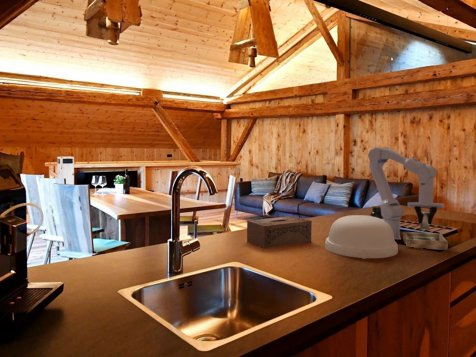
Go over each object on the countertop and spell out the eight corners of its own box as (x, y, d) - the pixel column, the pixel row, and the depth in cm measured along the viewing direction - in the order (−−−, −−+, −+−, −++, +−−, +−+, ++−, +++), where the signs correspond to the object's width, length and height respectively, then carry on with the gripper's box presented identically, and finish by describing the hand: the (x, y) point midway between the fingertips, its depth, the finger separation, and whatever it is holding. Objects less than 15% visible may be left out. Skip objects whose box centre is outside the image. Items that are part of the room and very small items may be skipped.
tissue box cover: (292, 236, 200) (292, 215, 199) (311, 242, 188) (311, 220, 187) (247, 242, 188) (247, 220, 187) (263, 249, 175) (263, 226, 174)
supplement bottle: (381, 228, 217) (382, 206, 216) (385, 231, 210) (386, 208, 209) (368, 228, 218) (369, 205, 217) (371, 230, 211) (372, 207, 210)
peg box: (406, 247, 177) (406, 239, 176) (403, 239, 192) (403, 231, 192) (447, 250, 172) (447, 241, 172) (440, 241, 187) (440, 234, 187)
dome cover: (404, 261, 156) (405, 225, 155) (324, 257, 163) (325, 222, 161) (391, 242, 187) (392, 211, 186) (325, 239, 194) (325, 209, 193)
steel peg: (420, 228, 181) (420, 212, 180) (419, 227, 184) (420, 212, 184) (429, 229, 179) (429, 213, 179) (428, 228, 183) (429, 212, 182)
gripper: (409, 193, 178) (408, 224, 179) (445, 194, 174) (444, 226, 175) (407, 192, 185) (406, 221, 186) (442, 193, 181) (441, 223, 182)
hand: (424, 223), depth 181 cm, fingers closed on steel peg, 4 cm apart
